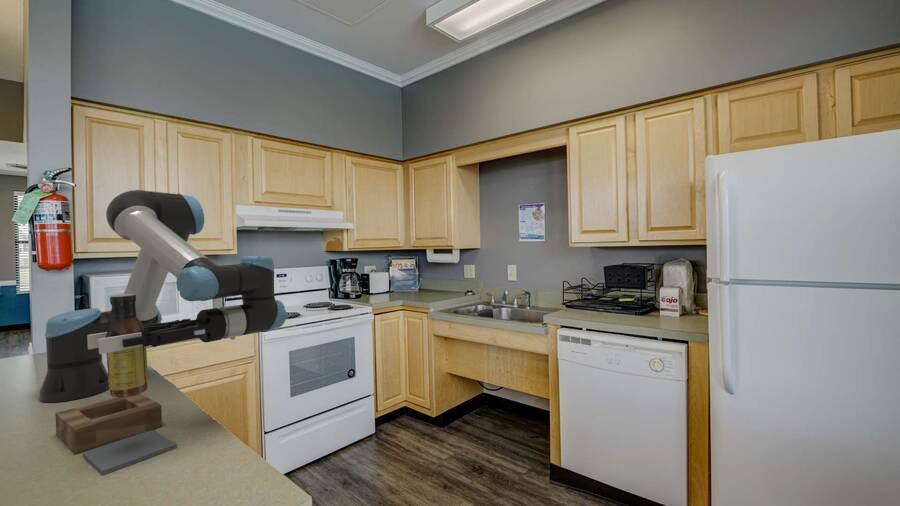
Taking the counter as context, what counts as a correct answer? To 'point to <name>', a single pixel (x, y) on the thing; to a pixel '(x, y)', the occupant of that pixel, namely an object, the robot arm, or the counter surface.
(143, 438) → the mat
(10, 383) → the counter surface
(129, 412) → the rectangular frame
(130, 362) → the sauce bottle
